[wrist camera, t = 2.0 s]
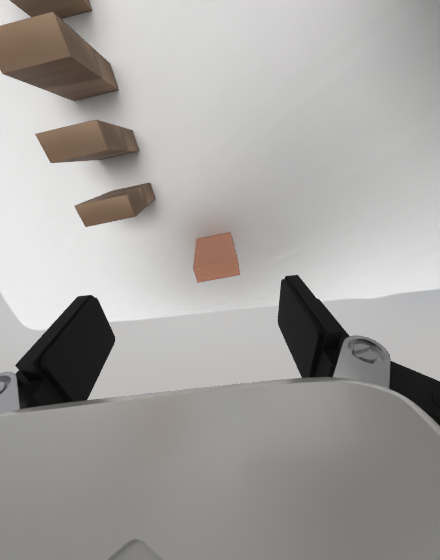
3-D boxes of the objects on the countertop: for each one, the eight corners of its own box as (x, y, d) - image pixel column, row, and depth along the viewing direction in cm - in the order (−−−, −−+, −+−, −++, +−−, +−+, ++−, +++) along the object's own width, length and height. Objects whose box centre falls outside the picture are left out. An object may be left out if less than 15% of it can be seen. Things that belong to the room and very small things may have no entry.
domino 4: (112, 190, 27) (74, 205, 19) (149, 182, 26) (126, 194, 19) (119, 206, 28) (85, 226, 20) (155, 198, 27) (135, 216, 20)
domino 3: (90, 140, 24) (35, 134, 16) (132, 130, 24) (96, 119, 16) (99, 159, 25) (50, 162, 17) (139, 150, 25) (108, 149, 17)
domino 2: (62, 75, 21) (-21, 31, 13) (110, 63, 21) (52, 11, 13) (73, 100, 22) (2, 73, 14) (118, 89, 22) (70, 56, 14)
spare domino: (196, 238, 31) (193, 267, 23) (230, 232, 30) (237, 259, 23) (199, 251, 32) (197, 282, 24) (232, 244, 31) (240, 274, 24)
